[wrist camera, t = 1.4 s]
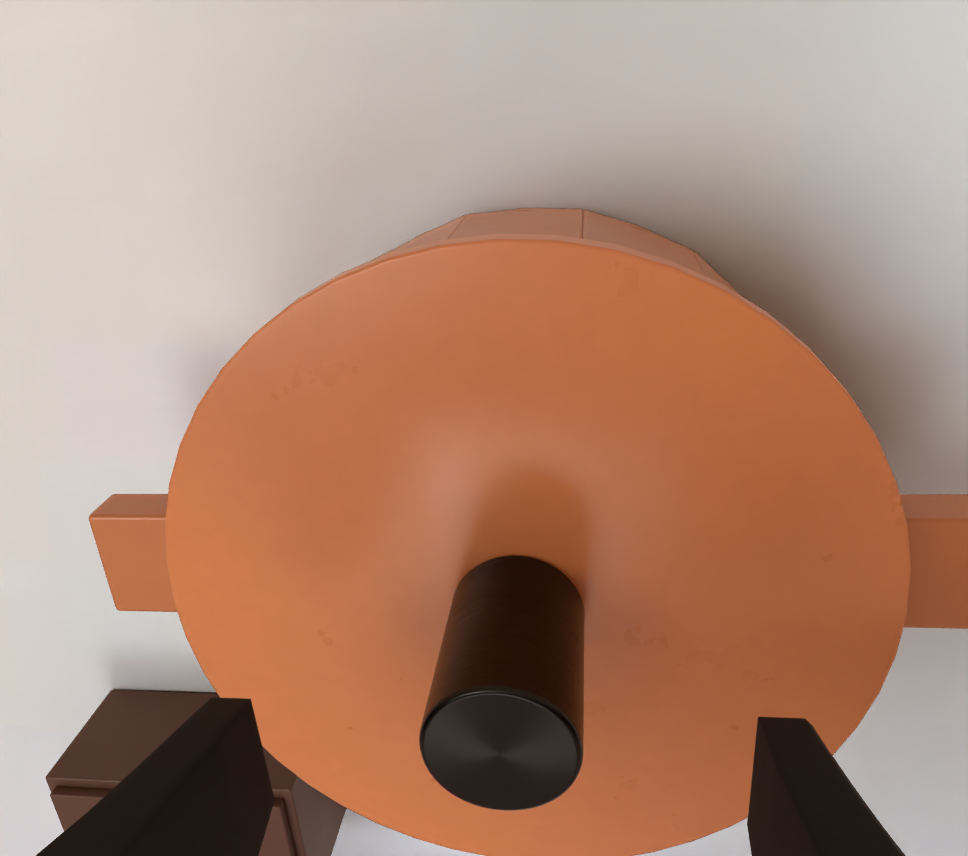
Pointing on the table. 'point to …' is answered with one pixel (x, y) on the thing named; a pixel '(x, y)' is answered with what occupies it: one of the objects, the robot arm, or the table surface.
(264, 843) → the chocolate bar
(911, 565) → the pan
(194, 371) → the table surface
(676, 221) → the table surface
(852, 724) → the lid
